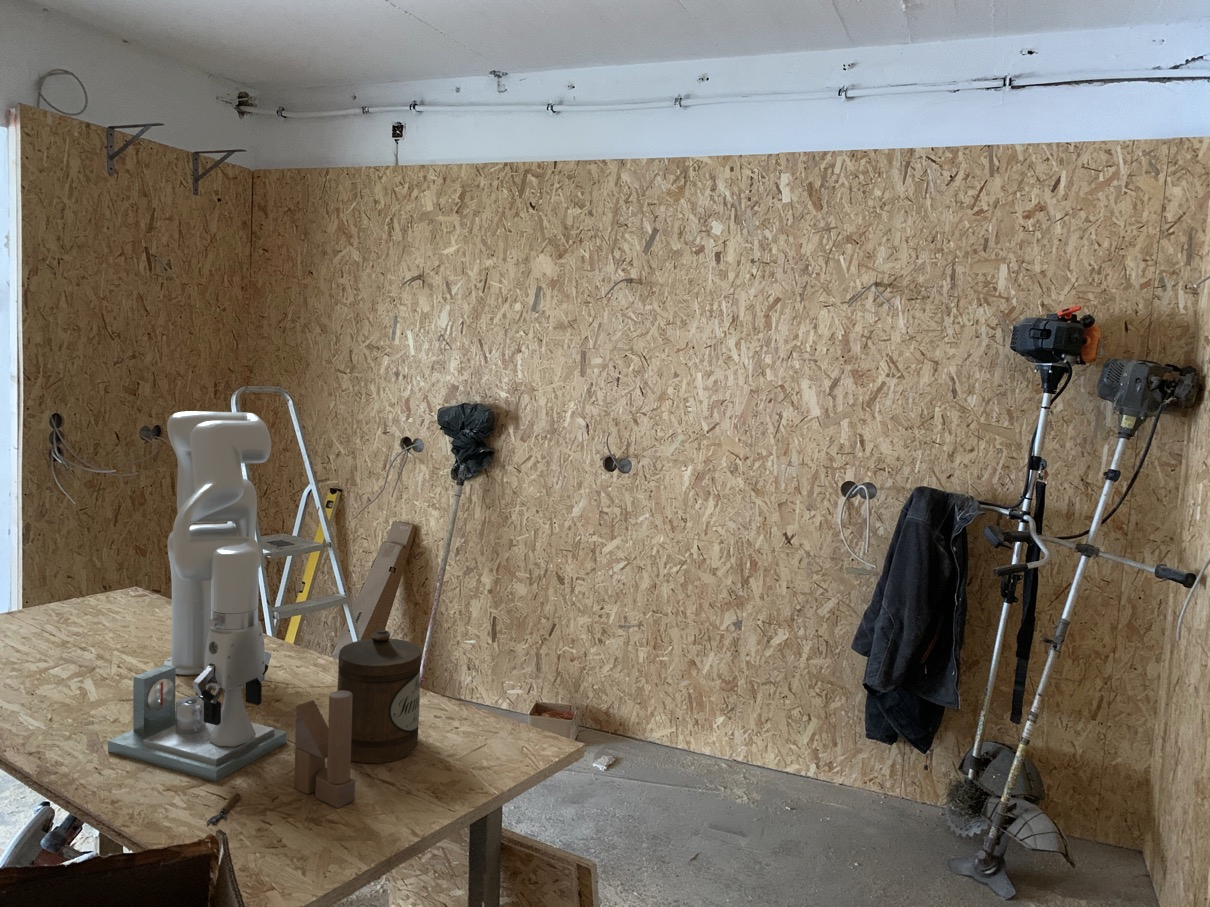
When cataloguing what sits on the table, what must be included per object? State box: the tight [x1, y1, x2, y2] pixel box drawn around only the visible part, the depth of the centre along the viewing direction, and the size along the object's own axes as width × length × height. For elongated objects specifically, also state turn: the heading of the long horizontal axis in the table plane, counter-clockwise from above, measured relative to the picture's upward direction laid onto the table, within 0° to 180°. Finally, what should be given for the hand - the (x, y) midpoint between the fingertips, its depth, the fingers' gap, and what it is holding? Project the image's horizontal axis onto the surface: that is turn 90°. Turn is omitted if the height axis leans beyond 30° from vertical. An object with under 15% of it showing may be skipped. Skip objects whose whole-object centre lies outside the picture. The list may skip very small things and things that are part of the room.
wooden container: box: [336, 628, 422, 764], centre depth 163 cm, size 15×15×22 cm
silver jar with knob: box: [175, 695, 206, 735], centre depth 160 cm, size 5×5×5 cm
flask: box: [209, 683, 256, 747], centre depth 156 cm, size 7×7×10 cm
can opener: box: [206, 792, 242, 827], centre depth 138 cm, size 9×2×1 cm, turn 172°
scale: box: [107, 665, 288, 783], centre depth 159 cm, size 17×24×12 cm
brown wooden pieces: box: [293, 690, 356, 809], centre depth 144 cm, size 4×11×18 cm, turn 57°
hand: (233, 713), depth 156 cm, fingers open, 9 cm apart
